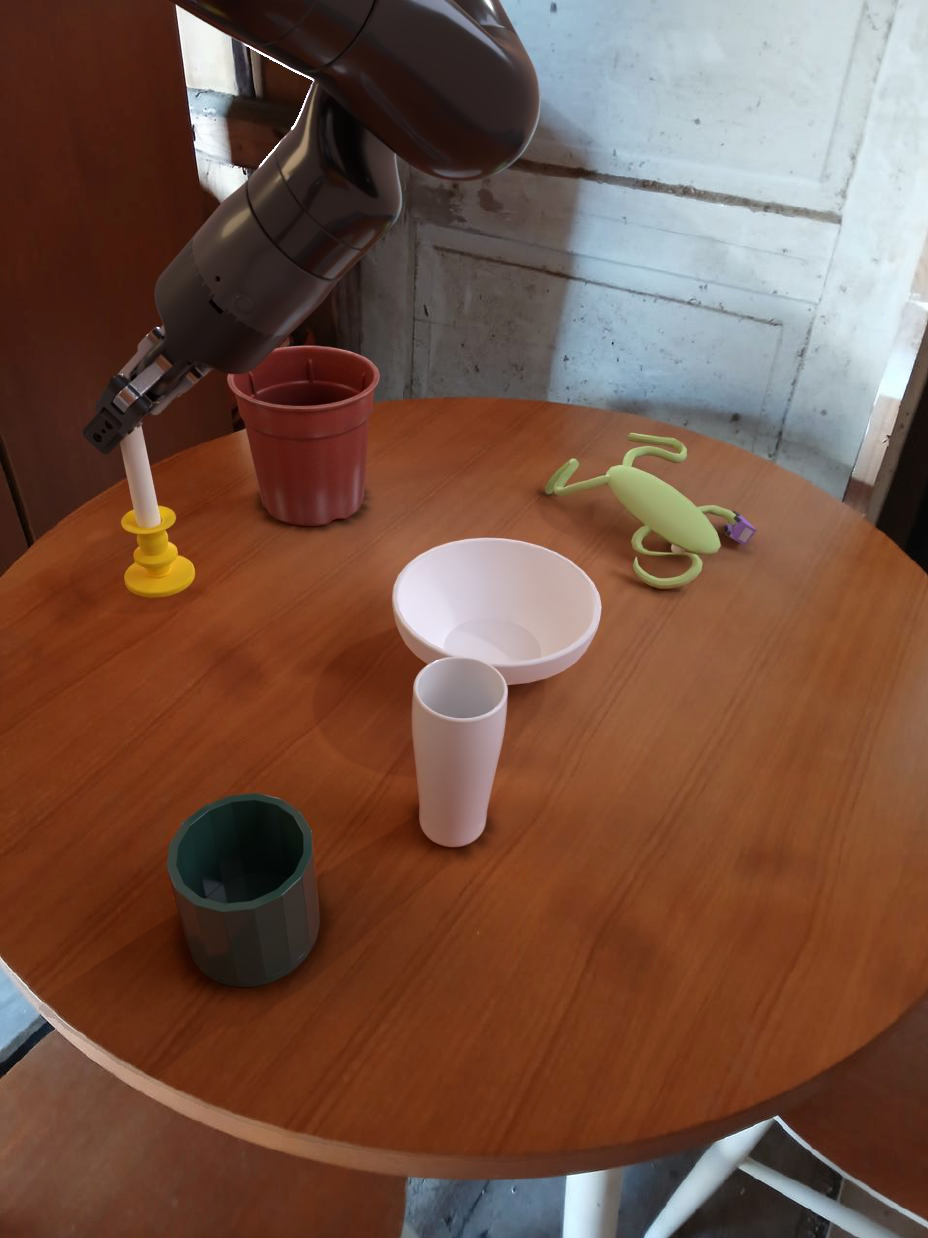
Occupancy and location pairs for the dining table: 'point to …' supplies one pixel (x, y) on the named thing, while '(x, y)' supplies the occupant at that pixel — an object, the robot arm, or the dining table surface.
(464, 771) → the drinking glass
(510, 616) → the bowl
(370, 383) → the flower pot
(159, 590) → the candle
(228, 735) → the dining table surface
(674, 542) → the figurine
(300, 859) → the cup
